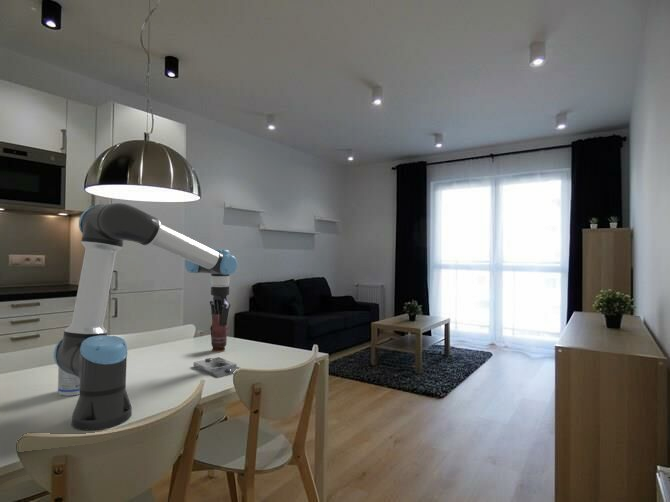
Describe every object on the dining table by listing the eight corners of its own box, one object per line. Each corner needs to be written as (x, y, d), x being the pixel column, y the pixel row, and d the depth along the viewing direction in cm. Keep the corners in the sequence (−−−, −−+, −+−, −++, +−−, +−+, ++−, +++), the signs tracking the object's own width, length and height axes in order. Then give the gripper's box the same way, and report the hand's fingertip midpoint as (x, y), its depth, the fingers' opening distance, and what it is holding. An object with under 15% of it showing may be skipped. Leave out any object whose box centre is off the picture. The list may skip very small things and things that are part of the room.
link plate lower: (217, 377, 155) (217, 373, 155) (199, 369, 165) (199, 365, 165) (243, 371, 164) (243, 367, 164) (225, 364, 174) (225, 360, 174)
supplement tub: (68, 387, 141) (69, 346, 141) (95, 387, 141) (97, 346, 142) (51, 397, 131) (52, 353, 131) (81, 396, 132) (82, 352, 132)
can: (211, 348, 163) (212, 314, 162) (211, 344, 169) (212, 312, 169) (226, 347, 164) (227, 314, 164) (226, 343, 170) (227, 311, 170)
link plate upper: (210, 374, 159) (210, 368, 159) (193, 366, 169) (193, 360, 169) (236, 368, 167) (236, 362, 167) (218, 361, 177) (218, 355, 177)
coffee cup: (205, 351, 194) (206, 325, 194) (215, 348, 202) (216, 322, 202) (220, 353, 192) (221, 326, 192) (230, 349, 200) (230, 324, 200)
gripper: (236, 286, 165) (235, 342, 165) (220, 284, 174) (219, 337, 174) (220, 287, 159) (219, 345, 159) (204, 285, 168) (203, 340, 168)
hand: (219, 341), depth 166 cm, fingers closed
